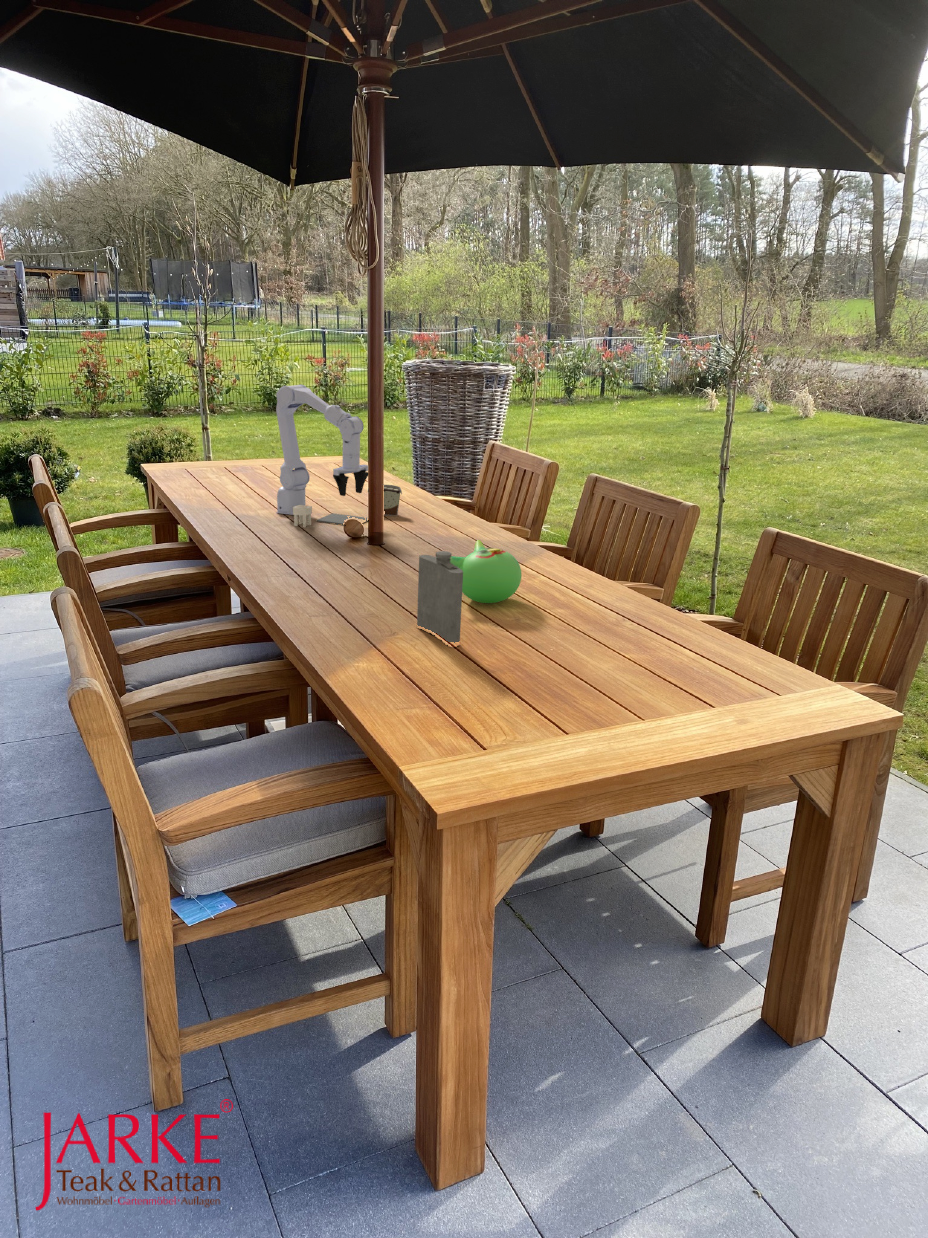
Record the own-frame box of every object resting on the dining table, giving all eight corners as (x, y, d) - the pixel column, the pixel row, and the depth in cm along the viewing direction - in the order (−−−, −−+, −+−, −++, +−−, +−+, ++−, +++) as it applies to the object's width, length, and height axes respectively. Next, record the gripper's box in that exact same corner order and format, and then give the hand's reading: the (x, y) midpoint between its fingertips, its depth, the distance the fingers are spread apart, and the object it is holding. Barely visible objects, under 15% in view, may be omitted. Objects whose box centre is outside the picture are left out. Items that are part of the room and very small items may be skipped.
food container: (404, 512, 326) (404, 485, 323) (401, 516, 320) (401, 488, 317) (370, 510, 327) (371, 483, 324) (367, 513, 321) (367, 486, 318)
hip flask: (414, 626, 212) (416, 545, 206) (429, 624, 215) (431, 543, 208) (450, 648, 200) (454, 562, 193) (465, 645, 202) (469, 560, 196)
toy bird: (496, 616, 222) (500, 559, 217) (440, 602, 231) (442, 547, 226) (530, 598, 237) (534, 545, 232) (476, 586, 245) (479, 534, 240)
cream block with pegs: (293, 526, 299) (292, 507, 297) (299, 523, 303) (299, 504, 301) (305, 527, 298) (305, 508, 296) (312, 524, 302) (311, 506, 300)
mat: (316, 521, 307) (316, 519, 306) (332, 514, 317) (332, 513, 317) (356, 526, 302) (356, 525, 302) (370, 519, 313) (370, 518, 313)
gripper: (343, 457, 291) (343, 498, 296) (374, 453, 302) (374, 493, 307) (328, 454, 296) (328, 495, 300) (360, 450, 306) (359, 489, 311)
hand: (350, 494), depth 304 cm, fingers open, 7 cm apart
